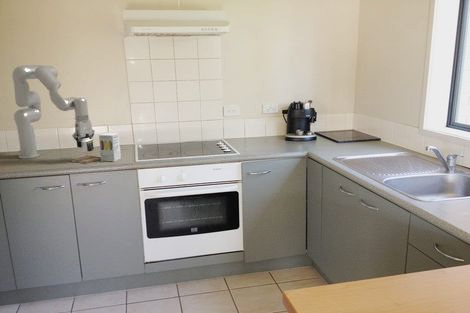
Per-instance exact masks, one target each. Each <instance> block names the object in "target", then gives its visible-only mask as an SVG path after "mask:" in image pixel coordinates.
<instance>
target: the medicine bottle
mask: <svg viewBox="0 0 470 313" xmlns="http://www.w3.org/2000/svg"><path fill="white" fill-rule="evenodd" d="M80 141H81V145H82V147H77V146H76V150H77V153H84V154H85V153H87V154H88V153H91V152H92V151H94V150H95V149H94V139H93V138H92V139H90V138H89V134H88V133H87V134H86V136H85V137H81V140H80Z"/></svg>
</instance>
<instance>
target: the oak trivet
mask: <svg viewBox="0 0 470 313" xmlns="http://www.w3.org/2000/svg"><path fill="white" fill-rule="evenodd" d="M96 161H101V156H96V155H95V156H94V155H85V156H81V157H78V158H73V159H71V162H73V163H77V164H90V163H94V162H96Z"/></svg>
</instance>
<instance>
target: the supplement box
mask: <svg viewBox="0 0 470 313" xmlns="http://www.w3.org/2000/svg"><path fill="white" fill-rule="evenodd" d="M98 139H99V140H98V141H99V149H100V150H99V151H100V157H101V159H100V161H101V162H110V161H112V162H113V163H114V162H117V161H119V160H120V159H122V156H121V143H120V133H119V132H103V133H100V134H99V135H98Z"/></svg>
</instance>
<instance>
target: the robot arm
mask: <svg viewBox="0 0 470 313" xmlns="http://www.w3.org/2000/svg"><path fill="white" fill-rule="evenodd" d="M58 74H59V73H58V70H57V68H56V67H54V66H52V65H37V64H36V65H35V64H34V65H31V64H30V65H20V66H17V67H15V68H14V69H13V71H12V81H13V88H14V89H13V90H14V100H15V104H16V106H17V107H19V108H21V109H17V110H16V111H15V112H14V114H13V120H14V122H15V125H16V129H17V135H18V141H19V149H20V150H17V151H18V153H19V155H18V158H19V159H22V160H23V159H24V160H25V159H34V158H38V157H40V152H38V151H37V142H36V137H35V136H36V135H35V130H34V126H33V125H32V124H31V123H36V122H39V120H41V117H42V104H41V102H42V101H41V98H40V95H39V93H38V92H36V91H34V90H30V84H29V82H28V81H27V80H36V79H38V81H39V82H40V83H41V84H42V85H43V86H44V87H45V88H46V89H47V91H48V94H49V99H50V100H51V102H52V103H53V104H54V105H55V107H56V108H57V109H58V110H60V111H63V112H68V111H73V110H74V115H75V117H74V120H75V121H74V122H75V123H74V131H75V132H74V133H73V134H72V138H73V139H74V140H75V142H76V148H77V147H82V145H81V141H80V140H81V137H85V136H86V134H87V133H88V134H89V138H90V139H93V138H94V136H95V131H96V130H94V129H93V127H92V126H93V125H92V122H91V120H90V119H89V111H88V109H89V108H88V102H87V101H88V100H87V98H85V97H75V96H74V97H66V98H64V97H63V96H62V95H61V94H60V93H59V91H58V90H59V89H61V86H62V82H60V80H59V79H58ZM26 107H27V108H26Z"/></svg>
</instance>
